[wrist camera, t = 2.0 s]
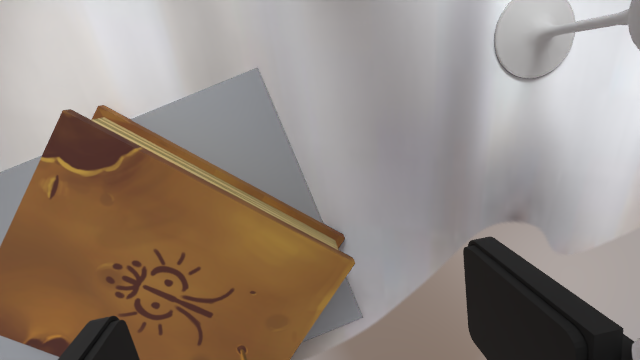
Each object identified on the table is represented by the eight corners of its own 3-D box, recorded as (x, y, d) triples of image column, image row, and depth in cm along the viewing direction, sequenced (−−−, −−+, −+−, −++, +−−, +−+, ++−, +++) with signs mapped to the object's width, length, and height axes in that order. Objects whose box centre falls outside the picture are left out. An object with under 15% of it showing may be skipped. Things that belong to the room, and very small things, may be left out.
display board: (257, 67, 29) (255, 66, 26) (362, 315, 36) (368, 333, 34) (-176, 244, 29) (-221, 260, 26) (17, 456, 36) (-4, 485, 34)
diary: (17, 287, 32) (-40, 330, 26) (105, 105, 28) (61, 109, 23) (247, 381, 37) (240, 433, 31) (343, 234, 34) (355, 264, 28)
